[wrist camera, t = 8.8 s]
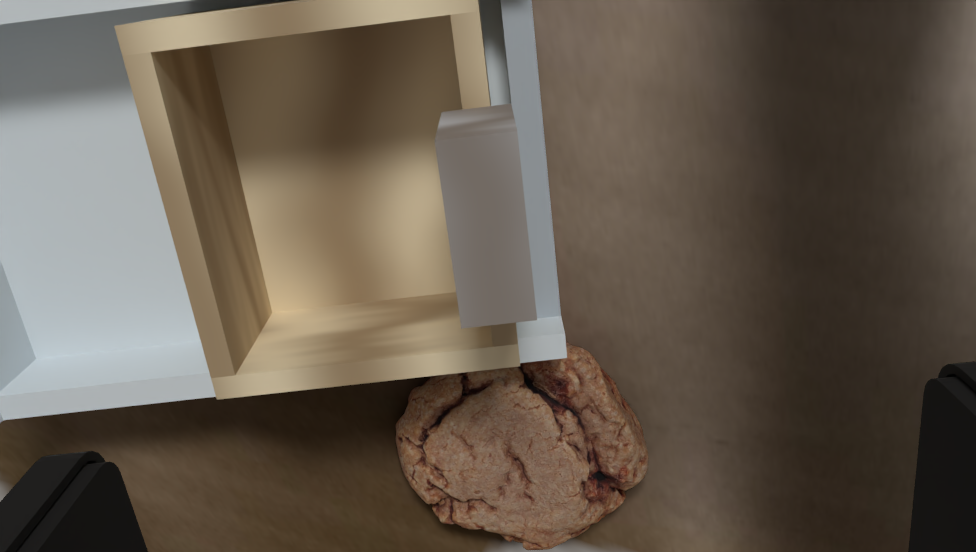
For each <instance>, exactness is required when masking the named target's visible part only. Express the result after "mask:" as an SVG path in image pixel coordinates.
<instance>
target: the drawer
mask: <svg viewBox="0 0 976 552" xmlns="http://www.w3.org/2000/svg"><path fill="white" fill-rule="evenodd" d="M114 27H115V31H116V35H117V38H118V42H119V46H120V49H121V53H122V56H123V60H124V64H125V67H126V71H127V75H128V78H129V82H130V86H131V89H132V93H133V96H134V100H135V104H136V107H137V111H138V115H139V118H140V122H141V126H142V129H143V133H144V136H145V140H146V144H147V147H148V151H149V155H150V158H151V162H152V166H153V169H154V173H155V176H156V180H157V184H158V187H159V191H160V195H161V198H162V202H163V206H164V209H165V213H166V217H167V220H168V224H169V227H170V231H171V235H172V238H173V242H174V246H175V249H176V253H177V257H178V260H179V264H180V267H181V271H182V275H183V278H184V282H185V286H186V289H187V293H188V297H189V300H190V304H191V307H192V311H193V315H194V318H195V322H196V326H197V329H198V333H199V337H200V340H201V344H202V347H203V351H204V355H205V358H206V362H207V366H208V369H209V373H210V377H211V380H212V384H213V387H214V391H215V395H216V398H217V400H219V399H228V398H237V397H246V396H255V395H264V394H273V393H282V392H291V391H300V390H309V389H318V388H328V387H337V386H346V385H355V384H364V383H373V382H382V381H391V380H400V379H409V378H418V377H427V376H436V375H446V374H455V373H464V372H473V371H482V370H491V369H500V368H509V367H518V366H520V356H519V346H518V337H517V327H516V322H525V321H534V320H537V313H536V304H535V294H534V285H533V275H532V266H531V256H530V247H529V237H528V228H527V218H526V209H525V199H524V190H523V180H522V171H521V161H520V152H519V143H518V133H517V127H516V123H515V119H514V114H513V110H512V105H511V104H504V105H495V106H491V99H490V91H489V82H488V73H487V65H486V56H485V47H484V39H483V30H482V22H481V13H480V4H479V0H288V1H280V2H273V3H265V4H257V5H249V6H241V7H233V8H225V9H217V10H209V11H201V12H194V13H186V14H180V15H174V16H168V17H163V18H157V19H151V20H146V21H140V22H134V23H128V24H123V25H117V26H114Z"/></svg>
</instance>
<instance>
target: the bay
mask: <svg viewBox="0 0 976 552" xmlns="http://www.w3.org/2000/svg"><path fill="white" fill-rule="evenodd" d="M280 1H288V0H0V423H1V422H2V421H3V420H9V419H18V418H27V417H36V416H45V415H54V414H63V413H73V412H82V411H91V410H100V409H109V408H118V407H127V406H136V405H145V404H154V403H163V402H172V401H181V400H190V399H199V398H208V397H216V395H215V391H214V387H213V384H212V380H211V377H210V373H209V369H208V366H207V362H206V358H205V355H204V351H203V347H202V344H201V340H200V337H199V333H198V329H197V326H196V322H195V318H194V315H193V311H192V307H191V304H190V300H189V297H188V293H187V289H186V286H185V282H184V278H183V275H182V271H181V267H180V264H179V260H178V257H177V253H176V249H175V246H174V242H173V238H172V235H171V231H170V227H169V224H168V220H167V217H166V213H165V209H164V206H163V202H162V198H161V195H160V191H159V187H158V184H157V180H156V176H155V173H154V169H153V166H152V162H151V158H150V155H149V151H148V147H147V144H146V140H145V136H144V133H143V129H142V126H141V122H140V118H139V115H138V111H137V107H136V104H135V100H134V96H133V93H132V89H131V86H130V82H129V78H128V75H127V71H126V67H125V64H124V60H123V56H122V53H121V49H120V46H119V42H118V38H117V35H116V31H115V27H114V26H117V25H123V24H128V23H134V22H140V21H146V20H151V19H157V18H163V17H168V16H174V15H180V14H186V13H194V12H201V11H209V10H217V9H225V8H233V7H241V6H249V5H257V4H265V3H273V2H280ZM479 4H480V13H481V22H482V30H483V39H484V47H485V56H486V65H487V73H488V82H489V91H490V99H491V106H495V105H504V104H511V105H512V110H513V114H514V119H515V123H516V127H517V133H518V143H519V152H520V161H521V171H522V180H523V190H524V199H525V209H526V218H527V228H528V237H529V247H530V256H531V266H532V275H533V285H534V294H535V304H536V313H537V320H534V321H525V322H516V327H517V337H518V346H519V356H520V363H526V362H535V361H544V360H553V359H562V358H567V350H566V339H565V331H564V327H563V323H562V318H561V311H560V300H559V289H558V279H557V268H556V257H555V247H554V236H553V225H552V215H551V204H550V193H549V183H548V172H547V161H546V151H545V140H544V129H543V119H542V108H541V97H540V86H539V76H538V65H537V54H536V44H535V33H534V22H533V12H532V1H531V0H479Z"/></svg>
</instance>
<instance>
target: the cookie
mask: <svg viewBox="0 0 976 552" xmlns="http://www.w3.org/2000/svg"><path fill="white" fill-rule="evenodd" d="M566 350H567V358H562V359H553V360H544V361H535V362H526V363H520V366H518V367H509V368H500V369H491V370H482V371H473V372H464V373H455V374H446V375H436V376H432V377H431V378H430V379H428V380H427V381H426V382H425V383H424V384H423V385H422V386H418V387H415V388H414V389H412V390H411V392H410V395H409V397H408V403H409V404H408V406H407V408H406V410H405V413H404V414H403V415H402V416H401V418H400V419H399V420H398V421H397V423H396V445H397V450H398V454H399V459H400V462H401V466H402V469H403V473H404V475H405V477H406V478H407V480H408V481H409V483H410V485H411V487H412V488H413V489H414V490H415V491H416V493H417V494H418V495H419V496H420V497H421V498H422V499H423V500H424V501H425V502H426V503H427V504H430V503H432V506H433V507H432V509H433V511H434V513H435V514H436V516H437V517H438V518H439V519H440V522H442V523H444V524H458V525H459V526H461V527H463V528H467V529H474V530H477V529H483V530H486V531H489V532H494V533H499V534H501V535H502V536H503V537H504V538H505V539H506V540H507V541H509V542H511V541H512V540H513V541H516V542H520V543H523V547H524V548H525V549H526V550H543V549H551V548H553V547H555V546H557V545H559V544H561V543H563V542H565V541H567V540H568V539H571V538H574V537H576V536H578V535H580V534H581V533H583V532H585V531H586V530H587V529H588V528H589V527H590V526H591V525H592V524H594V523H597V522H599V520H600V519H601V518H603V517H605V515H606V514H609V513H611V512H613V511H614V510H616V509H617V508H618V507H619V506H621V505H622V504H623V502H624V499H625V498H626V494H625V492H624V491H626V490H628V489H630V488H632V487H634V486H635V485H637V484H638V483H640V481H641V480H642V479H643V478H644V476H645V474H646V472H647V470H648V451H647V447H646V443H645V440H644V437H643V431H642V427H641V425H640V423H639V421H638V419H637V417H636V416H635V414H634V412H633V411H632V409H631V408H630V406H629V405H628V404H627V402H626V401H625V399H624V398H623V397H622V396H621V394H620V393H619V391H618V389H617V386H616V383H615V382H614V381H613V380H612V379H611V378H610V377H609V376H608V374H607V373H606V372H605V371H604V370H603V369H602V368H601V367H600V366H599V364H598V363H597V361H596V359H595V358H594V357H593V356H592V354H591V353H589V352H588V351H586V350H585V349H583V348H581V347H576V346H573V345H571V344H569V343H568V342H566Z"/></svg>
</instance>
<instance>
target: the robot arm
mask: <svg viewBox="0 0 976 552" xmlns="http://www.w3.org/2000/svg"><path fill="white" fill-rule="evenodd" d="M0 552H148V551H147V548H146V545H145V542H144V539H143V536H142V533H141V530H140V528H139V525H138V522H137V519H136V516H135V513H134V510H133V507H132V504H131V502H130V499H129V496H128V493H127V490H126V487H125V484H124V481H123V479H122V476H121V473H120V471H119V469H118V467H117V466H116V465H115V464H114V463H112V462H105V460H104V458H103V457H102V456H101V455H100V454H99V453H97V452H94V451H88V452H78V453H68V454H59V455H49V456H44V457H41V458H40V459H39V460H38V461H36V462H35V463H34V465H33V466H32V467H31V468H30V469H29V470H28V471H27V472H26V474H25V475H24V476H23V477H22V478H21V479H20V480H19V481H18V483H17V484H16V485H15V486H14V487H13V488H12V489H11V491H10V492H9V493H8V494H7V495H6V496H5V497H4V498H3V500H2V501H1V502H0ZM908 552H976V362H966V363H956V364H948V365H946V366H944V367H943V368H942V370H941V371H940V373H939V376H938V378H936V379H931V380H929V381H928V382H927V384H926V386H925V390H924V396H923V407H922V417H921V427H920V438H919V448H918V458H917V469H916V479H915V489H914V500H913V510H912V520H911V531H910V541H909V551H908Z"/></svg>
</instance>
